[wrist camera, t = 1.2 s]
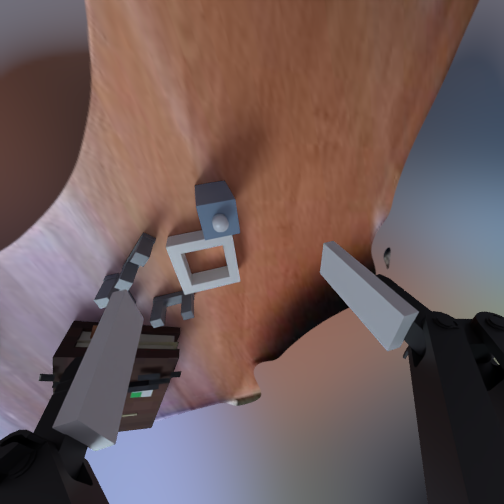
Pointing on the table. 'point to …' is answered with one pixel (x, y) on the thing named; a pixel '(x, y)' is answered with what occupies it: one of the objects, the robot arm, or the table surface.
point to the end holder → (205, 278)
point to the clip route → (126, 280)
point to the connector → (216, 210)
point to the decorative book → (143, 373)
